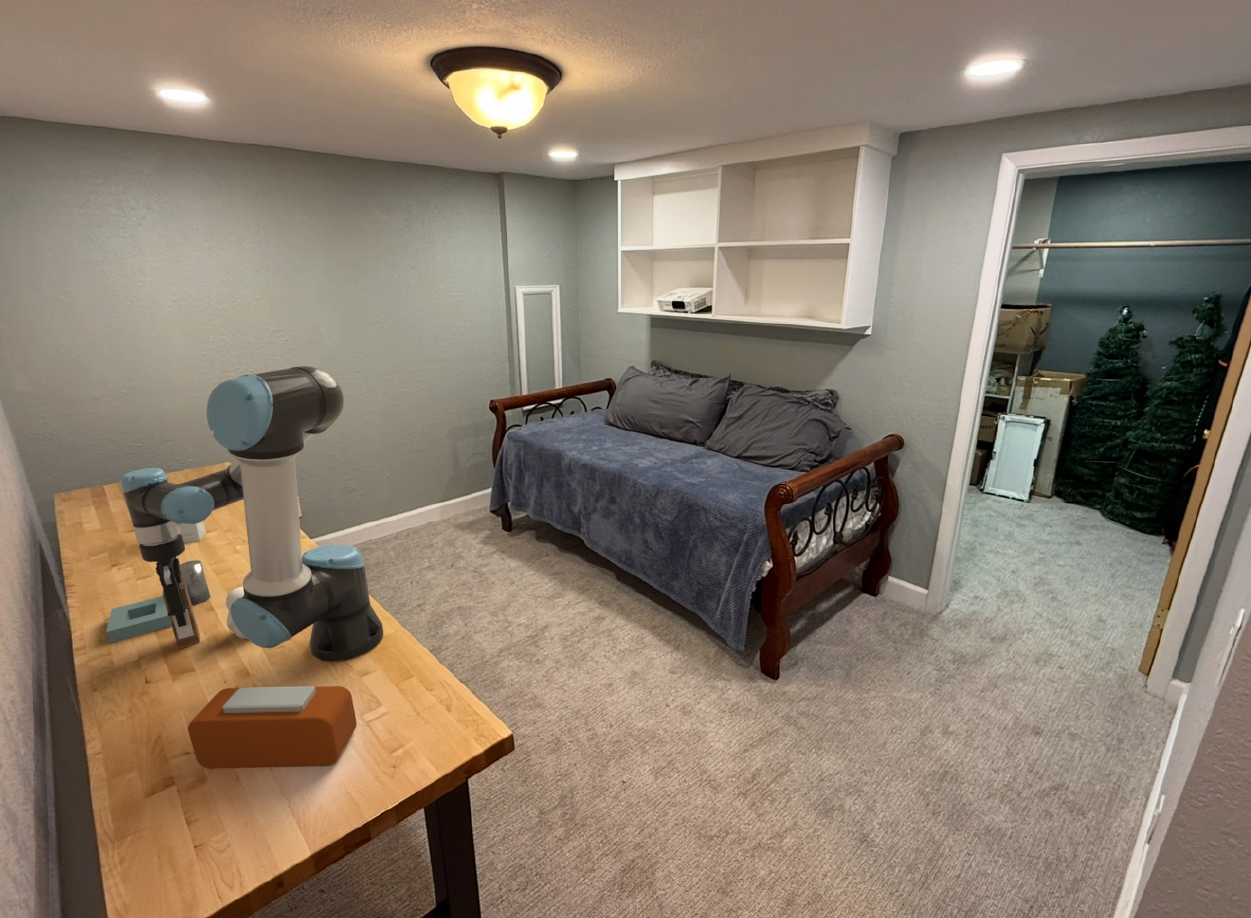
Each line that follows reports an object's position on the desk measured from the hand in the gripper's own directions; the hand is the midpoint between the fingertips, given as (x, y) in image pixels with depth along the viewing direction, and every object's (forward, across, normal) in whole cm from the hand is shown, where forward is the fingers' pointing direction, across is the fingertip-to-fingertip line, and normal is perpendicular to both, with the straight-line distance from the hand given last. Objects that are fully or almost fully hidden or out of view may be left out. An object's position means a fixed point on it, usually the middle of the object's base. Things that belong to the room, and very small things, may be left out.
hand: (186, 631), depth 135 cm
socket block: (+3, +16, +9) cm, 19 cm away
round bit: (+3, +21, -2) cm, 21 cm away
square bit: (+3, 0, 0) cm, 3 cm away
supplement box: (+3, +68, 0) cm, 68 cm away
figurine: (+3, -4, -12) cm, 13 cm away
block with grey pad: (+3, -49, -14) cm, 51 cm away
